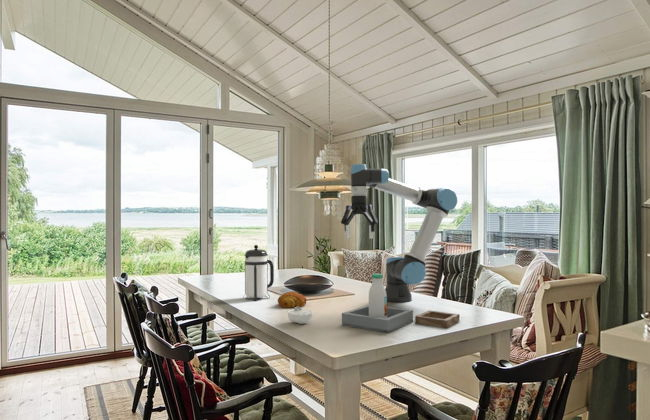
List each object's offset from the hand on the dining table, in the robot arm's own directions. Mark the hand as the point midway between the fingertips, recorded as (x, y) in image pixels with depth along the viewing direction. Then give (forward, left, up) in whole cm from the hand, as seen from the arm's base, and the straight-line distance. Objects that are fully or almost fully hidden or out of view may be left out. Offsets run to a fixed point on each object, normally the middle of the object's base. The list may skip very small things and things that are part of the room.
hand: (359, 238), depth 222 cm
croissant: (+13, -33, -35) cm, 50 cm away
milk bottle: (+22, +23, -34) cm, 46 cm away
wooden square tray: (+6, +43, -35) cm, 55 cm away
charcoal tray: (+22, +23, -35) cm, 47 cm away
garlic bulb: (+40, -5, -35) cm, 53 cm away
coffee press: (+9, -62, -35) cm, 72 cm away
